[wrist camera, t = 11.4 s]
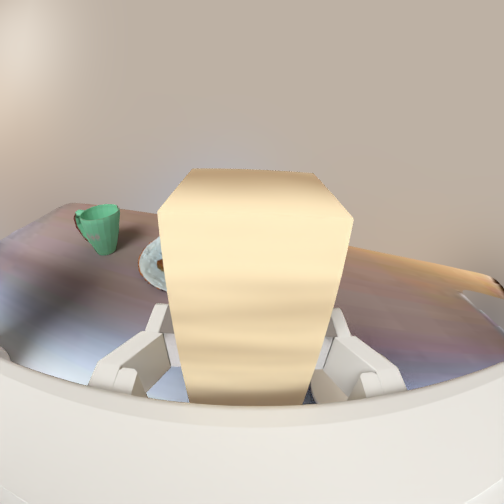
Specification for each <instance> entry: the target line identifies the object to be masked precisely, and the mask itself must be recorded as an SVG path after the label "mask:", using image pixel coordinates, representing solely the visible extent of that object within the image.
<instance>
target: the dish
mask: <svg viewBox="0 0 504 504" xmlns="http://www.w3.org/2000/svg"><path fill="white" fill-rule="evenodd" d="M378 354H379V353H378ZM380 355H381V354H380ZM381 356H382V355H381ZM382 357H384V356H382ZM384 358H385V357H384ZM385 359H387V358H385ZM387 360H388V359H387ZM388 361H389V360H388ZM389 362H390V361H389ZM310 388H311V393H312V396H313V398H314V400H315V402H316V404H321V403H332V402H341V401H347V399H348V397H347V396H346V395H345V394H344V392H343V391H342V390H341V389H340V388H339V387H338V386H337V385H336V384H335V383H334V382H333V381H332V379H331V378H330V377H329V376H328V375H327V374H326V373H325V372H324V371H323V369H315V370H314V373H313V375H312V378H311V381H310Z"/></svg>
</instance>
